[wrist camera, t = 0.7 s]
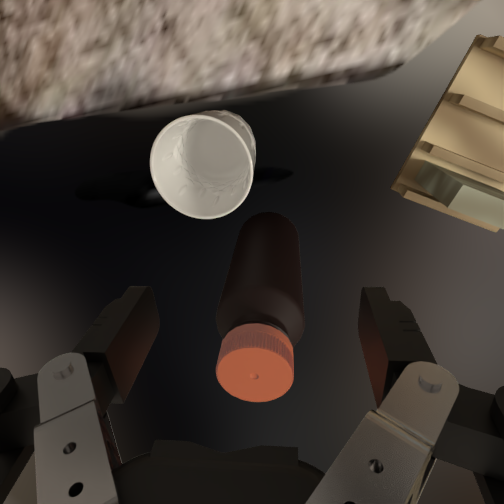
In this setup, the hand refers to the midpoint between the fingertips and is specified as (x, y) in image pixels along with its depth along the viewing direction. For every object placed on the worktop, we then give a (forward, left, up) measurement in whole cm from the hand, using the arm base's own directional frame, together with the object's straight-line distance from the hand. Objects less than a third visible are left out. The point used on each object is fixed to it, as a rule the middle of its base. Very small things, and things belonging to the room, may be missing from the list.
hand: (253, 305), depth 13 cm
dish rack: (-8, +18, -25) cm, 31 cm away
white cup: (+1, -5, -25) cm, 25 cm away
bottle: (+9, +3, -25) cm, 26 cm away
